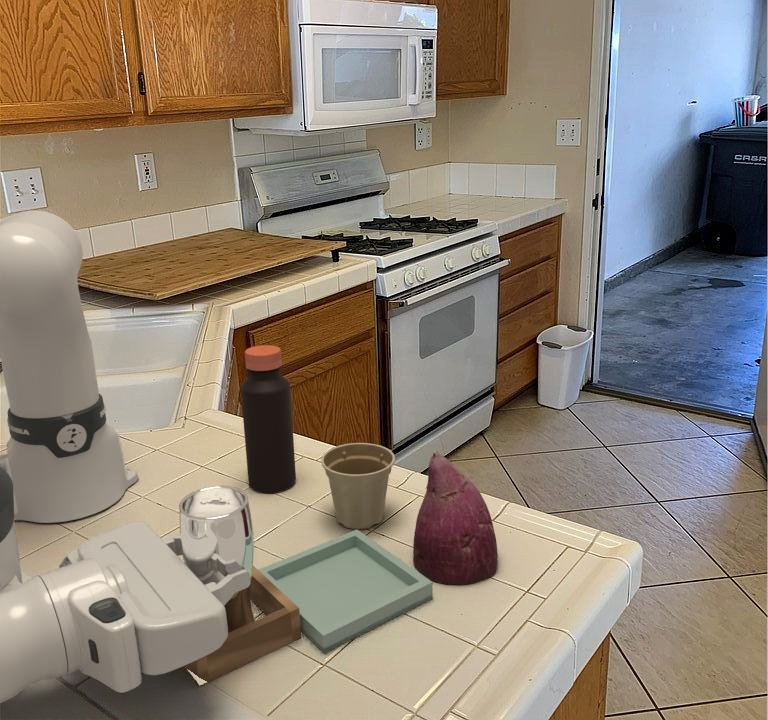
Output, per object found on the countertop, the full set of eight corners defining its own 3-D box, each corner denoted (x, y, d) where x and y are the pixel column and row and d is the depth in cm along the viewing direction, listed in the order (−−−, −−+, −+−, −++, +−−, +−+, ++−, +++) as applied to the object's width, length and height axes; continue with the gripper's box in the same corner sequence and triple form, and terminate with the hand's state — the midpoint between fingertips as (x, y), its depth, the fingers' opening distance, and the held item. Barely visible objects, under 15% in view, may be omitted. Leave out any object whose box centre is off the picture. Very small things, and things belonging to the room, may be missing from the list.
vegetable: (400, 587, 89) (363, 475, 86) (451, 541, 96) (418, 434, 93) (471, 603, 82) (433, 480, 79) (520, 551, 89) (487, 436, 86)
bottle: (263, 499, 104) (253, 361, 98) (239, 482, 109) (228, 349, 103) (305, 484, 108) (297, 350, 102) (280, 468, 113) (271, 340, 107)
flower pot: (406, 528, 96) (406, 467, 93) (335, 543, 93) (332, 480, 90) (382, 495, 104) (380, 438, 102) (315, 508, 101) (312, 449, 99)
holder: (154, 626, 78) (150, 598, 77) (249, 587, 85) (247, 559, 84) (199, 686, 70) (195, 655, 69) (301, 637, 76) (299, 608, 75)
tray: (255, 587, 85) (254, 571, 84) (357, 544, 93) (356, 529, 92) (324, 653, 74) (323, 635, 73) (432, 598, 82) (432, 582, 81)
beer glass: (231, 602, 82) (219, 478, 77) (275, 628, 78) (265, 498, 73) (177, 636, 77) (161, 504, 72) (221, 665, 73) (207, 527, 68)
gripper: (58, 587, 76) (187, 541, 84) (130, 706, 61) (280, 634, 69) (48, 532, 74) (182, 490, 82) (120, 640, 59) (276, 574, 67)
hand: (227, 556), depth 75 cm, fingers closed on beer glass, 7 cm apart
